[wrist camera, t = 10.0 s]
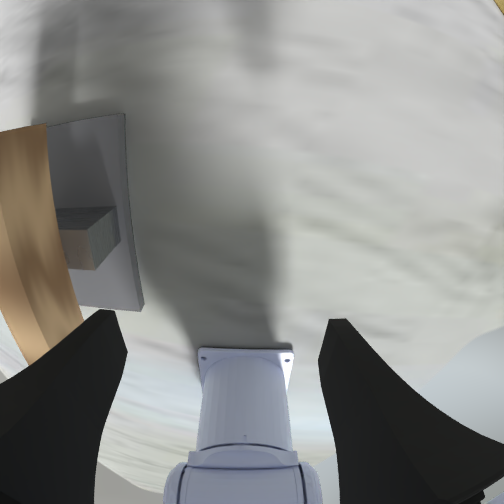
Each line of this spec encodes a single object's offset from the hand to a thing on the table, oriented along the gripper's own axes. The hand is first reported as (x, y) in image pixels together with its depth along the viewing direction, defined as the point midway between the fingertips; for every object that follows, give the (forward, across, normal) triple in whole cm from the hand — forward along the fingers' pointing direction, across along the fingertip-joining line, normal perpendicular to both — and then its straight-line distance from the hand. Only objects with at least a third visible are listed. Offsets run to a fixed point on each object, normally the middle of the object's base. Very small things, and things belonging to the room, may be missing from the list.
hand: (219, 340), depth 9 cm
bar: (+5, +11, 0) cm, 12 cm away
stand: (+10, +11, 0) cm, 15 cm away
